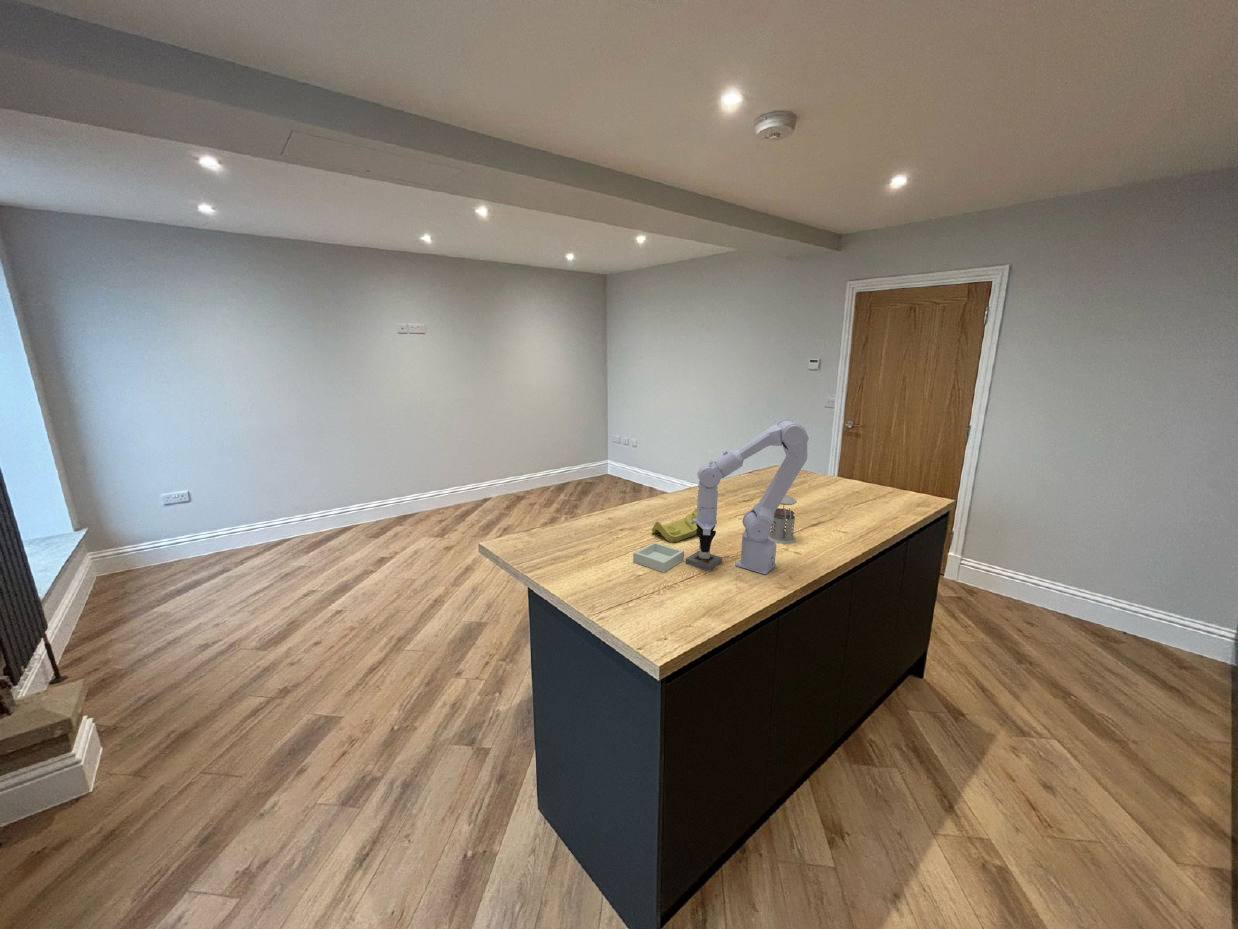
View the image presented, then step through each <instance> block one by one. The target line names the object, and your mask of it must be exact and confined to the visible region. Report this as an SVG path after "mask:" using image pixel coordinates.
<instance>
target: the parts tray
mask: <svg viewBox="0 0 1238 929" xmlns="http://www.w3.org/2000/svg"><path fill="white" fill-rule="evenodd" d="M684 561H685V551H684V550H682V549H679V548H676V547H672V546H669V545H666V544H662V543H659V542H656V541H653V542H651V543H650V544H648V545H646V546H644V547H641V548H640V549H638V550H635V551H634V552H633V553H632V563H635V564H638V565H641V566H643V567H645V568H649V569H653V570H655V571H658V572H660V573H666V572H667V571H669V570H670V569H672V568H674V567H675V566H677V565H679V564H681V563H682V562H684Z"/></svg>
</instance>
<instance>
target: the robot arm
mask: <svg viewBox="0 0 1238 929" xmlns="http://www.w3.org/2000/svg"><path fill="white" fill-rule="evenodd" d="M809 439H810V438H809V436H808V433H807V431H806V429H805V427H804V426H803V425H802V424H799V423H796V422H794V421H793V420H791V419H782V420H780V421H778V422H777V423H775V424H773V425H771V426H770V427H768V428H767V429H765V430H764V431H763V432H761V433H760V434H758V435H757V436H755V437H754V438H752V440H750V441H748V442H747V443H746V444H744V445H743V446H741V447H740V448H738V449H737V450H735V449H729V450H724V451H723V452H722V455H721V456H718V457H717V458H715V459H714V460H713V461H712V460H710V461H708V464H704V465H702V466H700V468H699V470H698V472H697V477H698V479H699V482H698V485H697V486H698V489H697V504H696V506H697V507H696V509H697V518H693V523H696V526H697V528H696V532H697V533H696V534H697V537H698V539H699V545H700V547H701V552H707V553H708V552H709V550H710V551H711V547H710V546H711V545H712V542H713V539H714V538H715V536H716V534H717V531H716V530H715V528H716V525H717V524H718V520H717V514H718V513H717V512H718V497H719V495H718V494H719V492H718V488H719V487H718V486H719V484H721V480H722V479H724V478H726V477H727V476H729V475H731V474H732V473H734V472H735V471H737V470H739V469H740V468H742V467H743V464H744V461H745V460H746V459H748V458H750V457H752V456H754V455H755V454H757V453H758V452H760V451H762V450H764V449H765V448H767V447H769V446H771V447H772V446H776V447H777V446H778V447H781V446H782V448H783V450H784V453H785V457H784V460H783V461H782V462H781V465H780V467H778V470H777V471H776V473H775V474H774V477H773V478H772V480H771V481H770V483H769V485H768V486H767V488H766V489H765V491H764V493H763V495H762V496H761V498H760V500H759V501H758V503H756V504H754V505H753V507H752V508H751V509H750V510H749V511H747V512H746V513H745V514H744V515H743V517H742V525H743V527H744V531H743V532H742V537H741V548H740V549H741V550H740V551H741V552H740V559H739V560H738V561H736V562H735V564H734V566H736V567H739V568H743V569H745V570H749V571H753V572H756V573H759V574H762V575H766V574H768V573H769V572H771V570H773V569H774V568H775V567H776V554H777V543H775V542H773V541H771V540H769V539H768V536H769V534H770V531H771V530H770V528H772V527H771V525H772V523H773V521H774V513H775V511H776V510H777V508H778V507H780V505H781V504H780V503H781V501H782V500H783V498H784V496H785V495H786V494H788V491H789V490H790V488H791V487H792V485H793V483H794V481H795V480H796V479H797V476H798V475H799V473H801V470H802V469H803V467H804V465H805V463H806V461H807V459H808V443H809V442H808V441H809ZM786 496H787V495H786Z"/></svg>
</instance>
